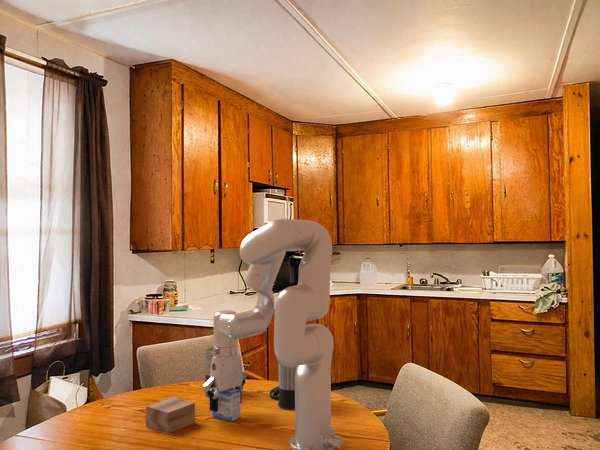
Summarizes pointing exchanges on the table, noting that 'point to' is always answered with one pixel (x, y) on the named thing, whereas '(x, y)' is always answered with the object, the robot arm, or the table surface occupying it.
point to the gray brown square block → (170, 414)
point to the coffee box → (208, 363)
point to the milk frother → (285, 387)
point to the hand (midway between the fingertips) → (225, 406)
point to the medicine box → (228, 405)
